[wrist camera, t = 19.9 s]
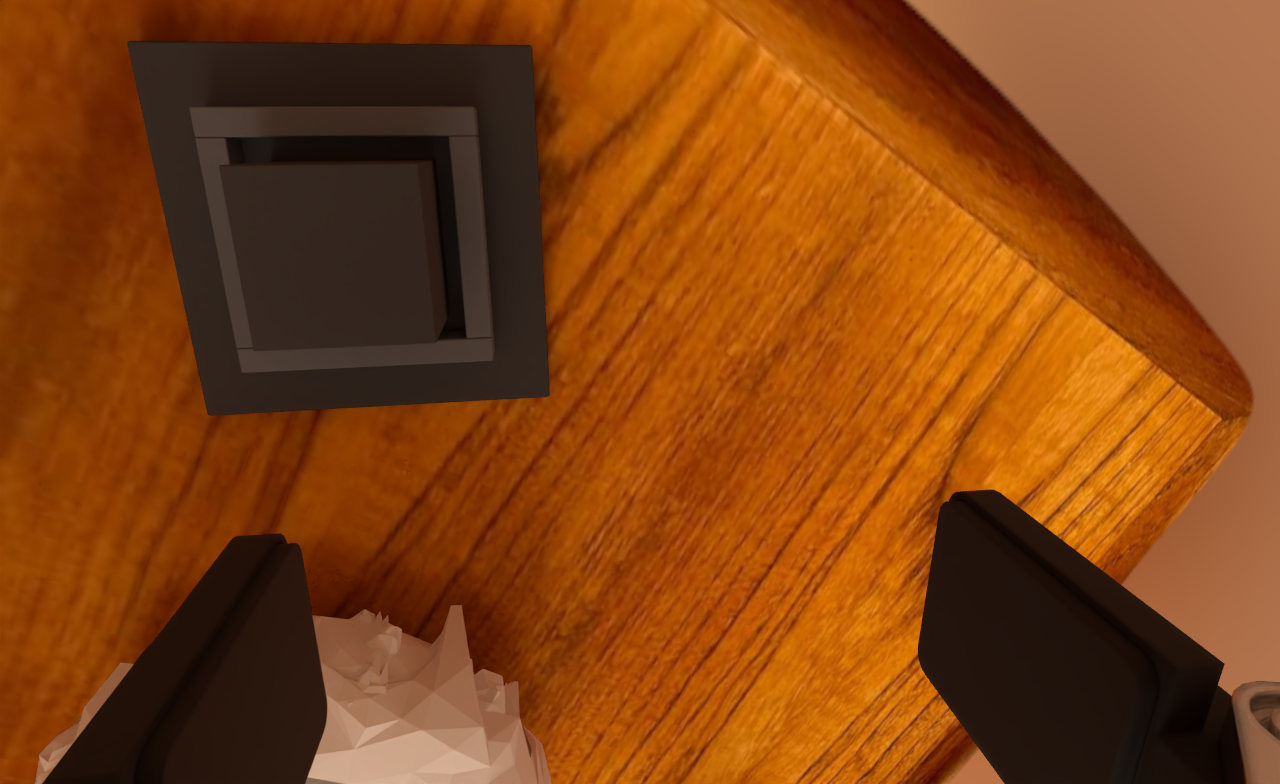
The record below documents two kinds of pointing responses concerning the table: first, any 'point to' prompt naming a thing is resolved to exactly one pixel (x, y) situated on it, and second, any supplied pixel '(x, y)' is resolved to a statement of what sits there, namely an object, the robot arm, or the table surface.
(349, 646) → the bowl
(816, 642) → the table surface
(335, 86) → the base pad
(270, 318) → the dark block
